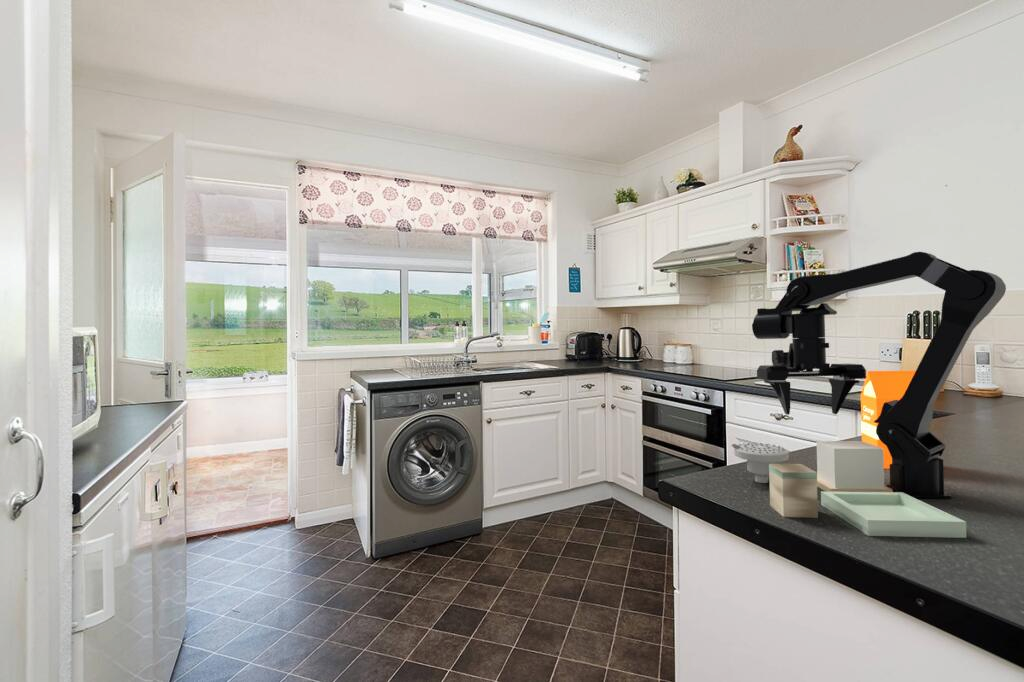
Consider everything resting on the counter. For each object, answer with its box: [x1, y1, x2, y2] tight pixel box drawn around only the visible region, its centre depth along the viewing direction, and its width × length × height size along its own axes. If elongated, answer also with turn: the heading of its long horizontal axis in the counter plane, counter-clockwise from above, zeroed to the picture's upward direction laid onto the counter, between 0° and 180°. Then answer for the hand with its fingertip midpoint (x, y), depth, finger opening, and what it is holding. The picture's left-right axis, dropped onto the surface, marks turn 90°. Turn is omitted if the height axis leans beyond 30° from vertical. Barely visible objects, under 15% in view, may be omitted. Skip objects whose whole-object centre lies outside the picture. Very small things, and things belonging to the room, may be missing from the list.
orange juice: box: [860, 370, 916, 470], centre depth 100 cm, size 8×9×20 cm
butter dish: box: [816, 440, 894, 492], centre depth 87 cm, size 10×9×8 cm
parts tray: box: [820, 490, 967, 539], centre depth 71 cm, size 12×12×2 cm
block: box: [768, 463, 819, 518], centre depth 76 cm, size 5×5×7 cm
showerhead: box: [730, 442, 790, 484], centre depth 91 cm, size 9×7×10 cm
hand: (810, 414), depth 97 cm, fingers open, 9 cm apart
